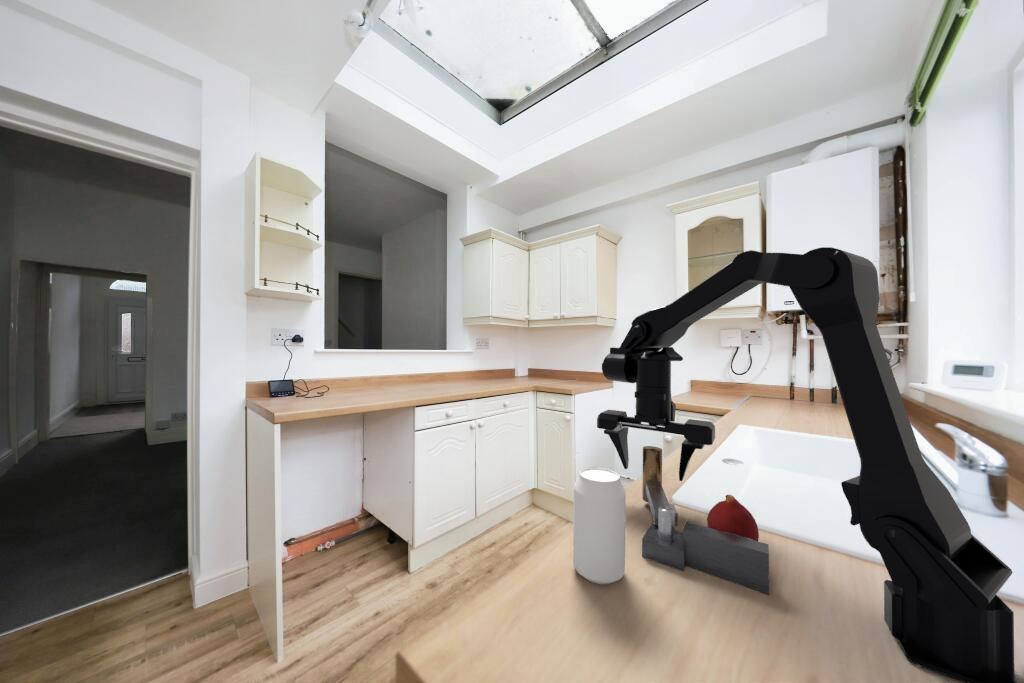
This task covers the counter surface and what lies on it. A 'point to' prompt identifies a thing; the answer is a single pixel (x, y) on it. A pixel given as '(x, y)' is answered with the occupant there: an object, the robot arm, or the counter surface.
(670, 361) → the robot arm
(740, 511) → the onion
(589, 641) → the counter surface
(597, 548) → the beverage can
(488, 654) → the counter surface
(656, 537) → the base
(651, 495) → the lever
